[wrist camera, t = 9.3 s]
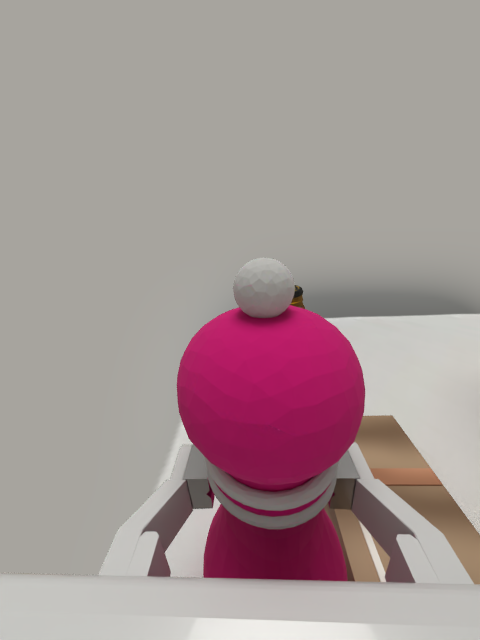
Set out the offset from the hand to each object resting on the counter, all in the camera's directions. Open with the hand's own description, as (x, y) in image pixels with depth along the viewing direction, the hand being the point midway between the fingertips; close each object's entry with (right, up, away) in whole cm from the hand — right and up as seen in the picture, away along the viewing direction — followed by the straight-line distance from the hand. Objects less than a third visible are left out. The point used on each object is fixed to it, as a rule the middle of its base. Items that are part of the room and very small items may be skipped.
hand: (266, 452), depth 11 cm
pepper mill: (+1, -11, +3) cm, 12 cm away
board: (+9, -11, 0) cm, 15 cm away
